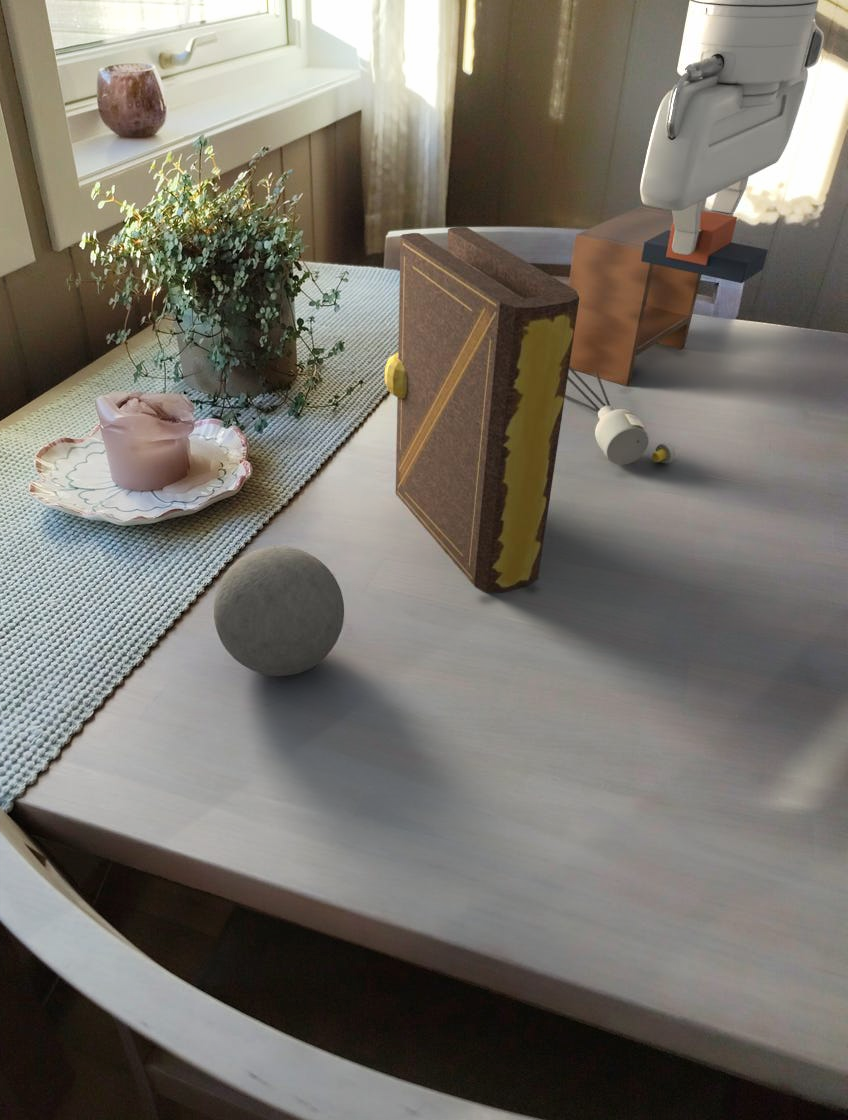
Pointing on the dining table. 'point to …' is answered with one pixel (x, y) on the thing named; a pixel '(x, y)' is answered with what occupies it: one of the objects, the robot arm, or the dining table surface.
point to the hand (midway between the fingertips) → (700, 243)
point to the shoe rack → (626, 295)
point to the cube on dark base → (709, 251)
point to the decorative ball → (278, 611)
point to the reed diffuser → (621, 431)
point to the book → (480, 400)
